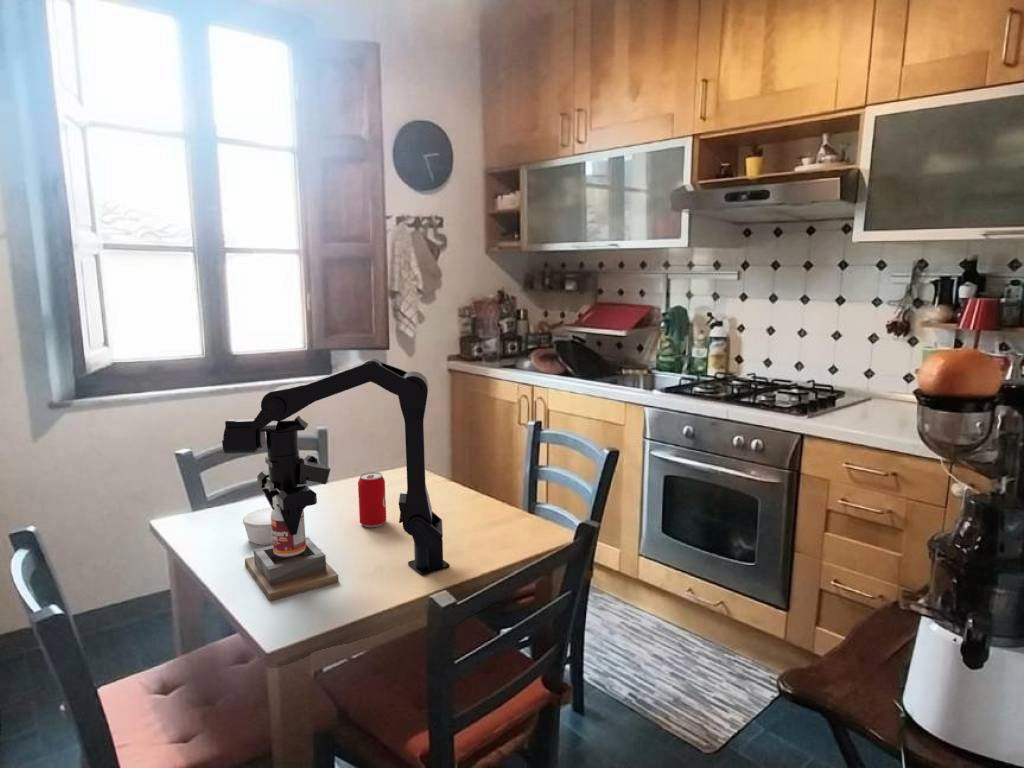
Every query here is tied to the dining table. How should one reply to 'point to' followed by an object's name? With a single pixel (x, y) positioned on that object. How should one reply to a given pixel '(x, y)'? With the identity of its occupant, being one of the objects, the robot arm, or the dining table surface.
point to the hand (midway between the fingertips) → (288, 529)
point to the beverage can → (372, 499)
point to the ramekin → (259, 526)
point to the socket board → (290, 571)
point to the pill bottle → (286, 535)
